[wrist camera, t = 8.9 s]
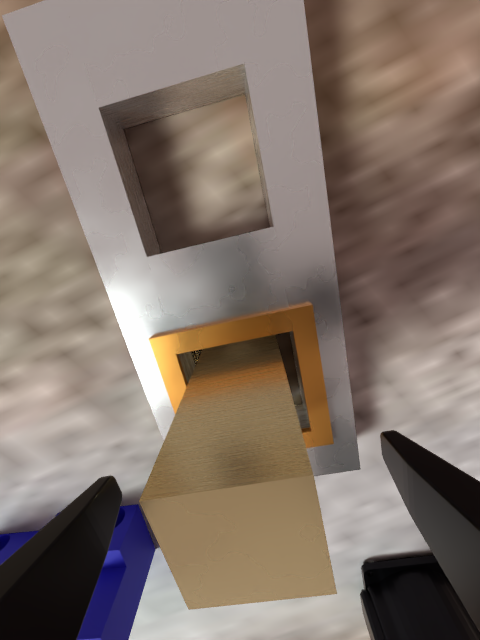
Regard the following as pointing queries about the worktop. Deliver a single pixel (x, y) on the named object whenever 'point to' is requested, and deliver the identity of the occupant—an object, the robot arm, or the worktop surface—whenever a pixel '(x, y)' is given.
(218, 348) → the beige rectangular block
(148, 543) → the blue curved block
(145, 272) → the grey plate with holes
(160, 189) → the worktop surface
